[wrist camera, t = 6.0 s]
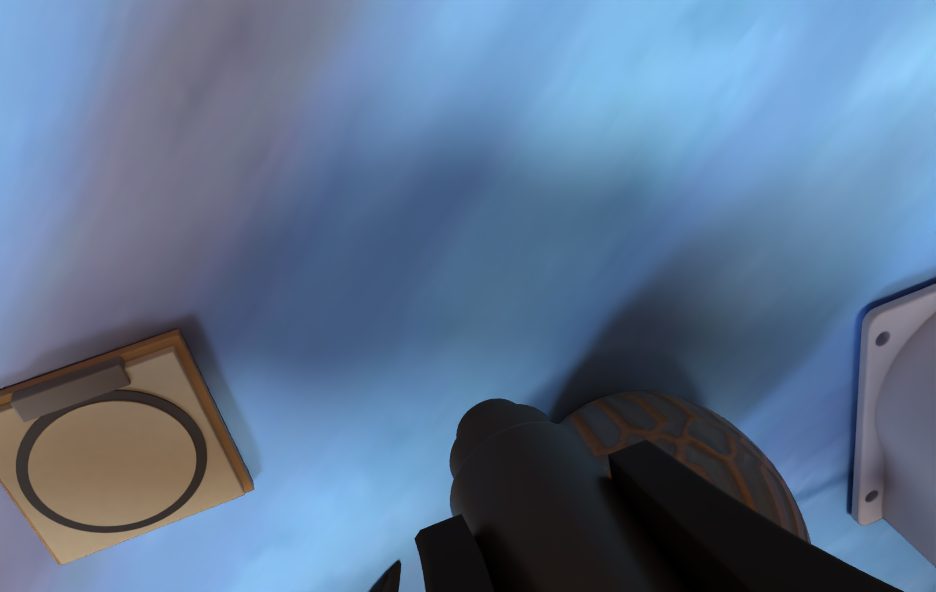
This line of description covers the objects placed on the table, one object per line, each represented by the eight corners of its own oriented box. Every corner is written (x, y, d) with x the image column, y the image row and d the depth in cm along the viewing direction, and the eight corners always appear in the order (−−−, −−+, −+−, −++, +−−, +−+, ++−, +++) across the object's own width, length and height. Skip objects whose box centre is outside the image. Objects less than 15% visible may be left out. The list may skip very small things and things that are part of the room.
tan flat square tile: (253, 482, 22) (256, 500, 21) (59, 556, 21) (56, 577, 20) (178, 327, 19) (178, 343, 18) (-48, 406, 18) (-54, 425, 18)
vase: (712, 483, 27) (913, 718, 20) (520, 571, 26) (658, 851, 19) (689, 316, 24) (924, 531, 16) (465, 412, 23) (609, 685, 15)
